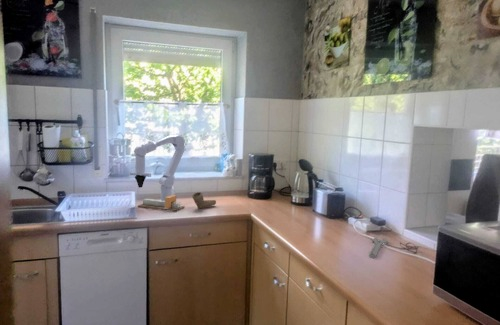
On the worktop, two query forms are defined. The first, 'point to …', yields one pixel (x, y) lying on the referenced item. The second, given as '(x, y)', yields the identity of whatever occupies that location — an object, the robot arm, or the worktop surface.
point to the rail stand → (160, 205)
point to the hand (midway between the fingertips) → (140, 187)
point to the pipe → (202, 200)
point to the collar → (169, 200)
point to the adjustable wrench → (377, 247)
